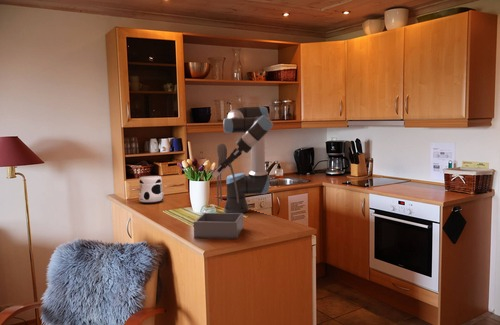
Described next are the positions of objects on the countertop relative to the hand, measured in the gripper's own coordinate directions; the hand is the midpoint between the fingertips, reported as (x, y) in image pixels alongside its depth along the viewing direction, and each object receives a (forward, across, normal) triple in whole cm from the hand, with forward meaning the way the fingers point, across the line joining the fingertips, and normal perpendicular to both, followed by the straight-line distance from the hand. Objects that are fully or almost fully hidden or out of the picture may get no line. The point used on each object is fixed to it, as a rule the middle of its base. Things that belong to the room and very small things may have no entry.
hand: (215, 174), depth 209 cm
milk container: (+66, +79, +23) cm, 105 cm away
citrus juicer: (+8, 0, -13) cm, 15 cm away
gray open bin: (+20, 0, -22) cm, 29 cm away
